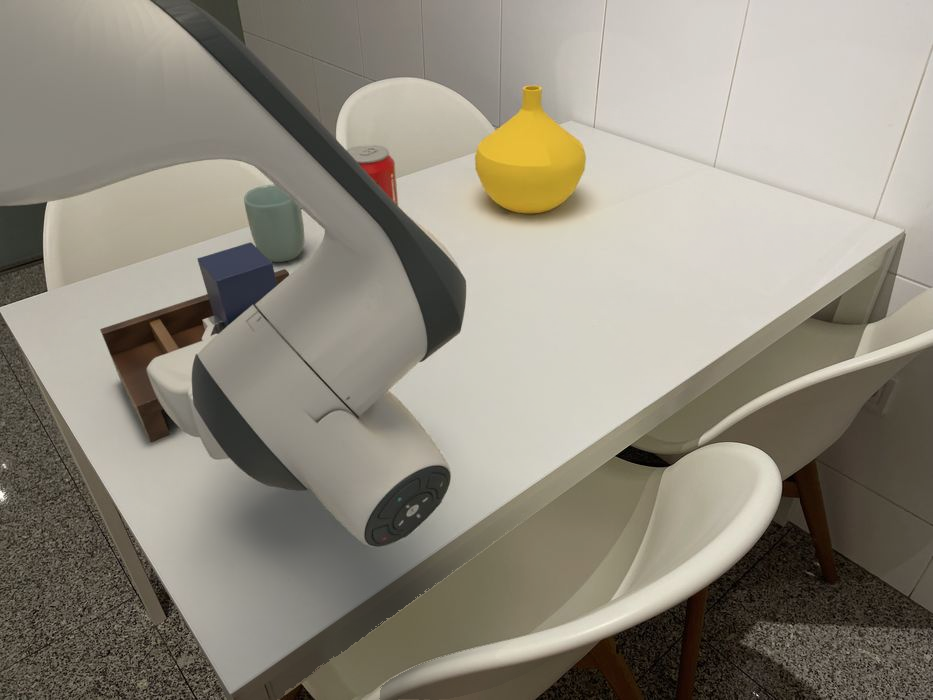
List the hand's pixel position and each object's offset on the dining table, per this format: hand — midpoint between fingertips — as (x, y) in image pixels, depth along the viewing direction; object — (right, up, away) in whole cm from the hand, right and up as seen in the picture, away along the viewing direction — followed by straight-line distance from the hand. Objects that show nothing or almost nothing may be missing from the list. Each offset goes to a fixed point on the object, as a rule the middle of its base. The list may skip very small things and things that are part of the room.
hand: (244, 311), depth 65 cm
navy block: (+1, -6, +4) cm, 7 cm away
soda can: (+7, +12, +44) cm, 46 cm away
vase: (+31, +22, +56) cm, 68 cm away
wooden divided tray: (-7, -7, +18) cm, 21 cm away
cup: (-7, +11, +42) cm, 44 cm away
